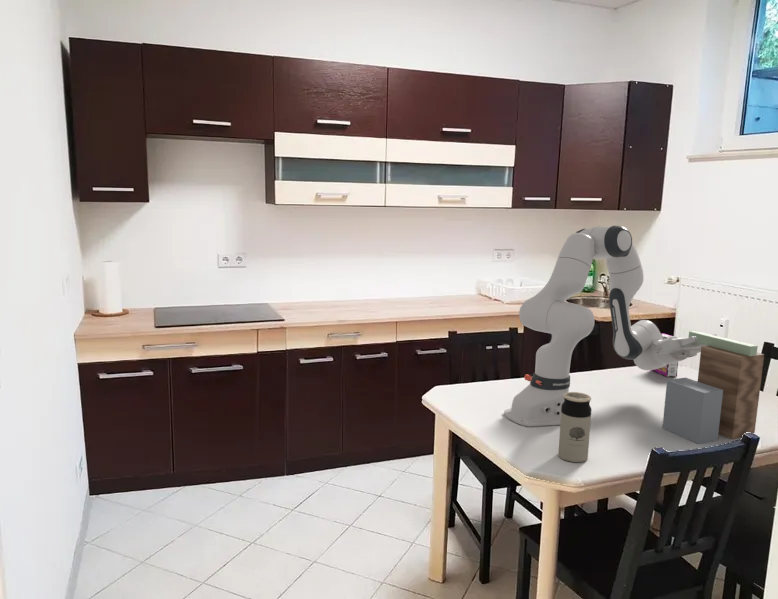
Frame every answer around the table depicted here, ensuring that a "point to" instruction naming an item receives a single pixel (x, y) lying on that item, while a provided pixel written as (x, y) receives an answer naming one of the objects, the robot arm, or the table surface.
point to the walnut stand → (733, 387)
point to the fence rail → (724, 343)
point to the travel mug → (575, 427)
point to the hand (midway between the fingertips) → (705, 337)
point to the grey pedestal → (692, 410)
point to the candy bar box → (668, 365)
